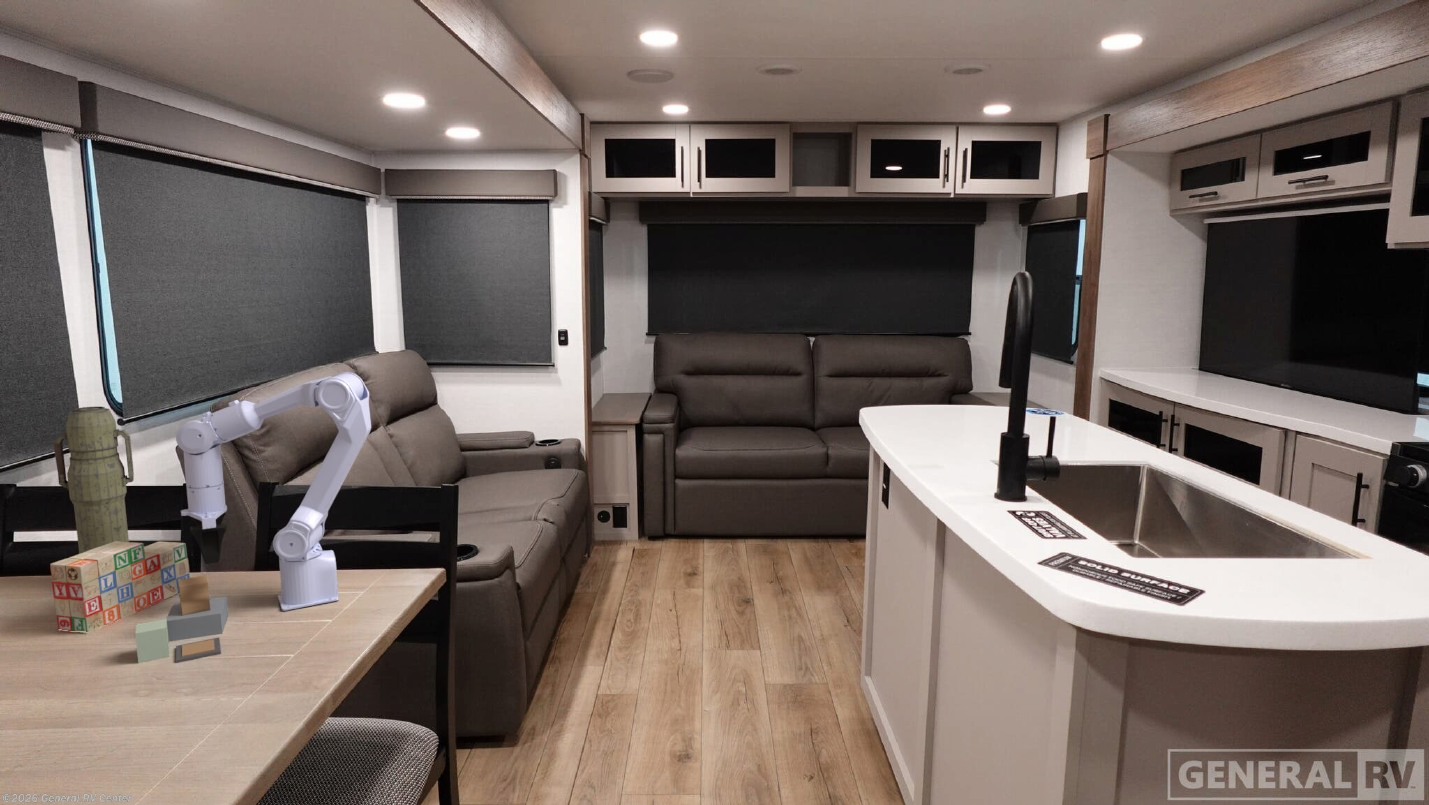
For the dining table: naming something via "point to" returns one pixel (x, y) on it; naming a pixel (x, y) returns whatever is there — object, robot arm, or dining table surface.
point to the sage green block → (152, 640)
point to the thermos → (95, 476)
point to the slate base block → (197, 621)
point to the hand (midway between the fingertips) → (211, 556)
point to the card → (198, 649)
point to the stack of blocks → (115, 582)
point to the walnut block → (194, 595)
